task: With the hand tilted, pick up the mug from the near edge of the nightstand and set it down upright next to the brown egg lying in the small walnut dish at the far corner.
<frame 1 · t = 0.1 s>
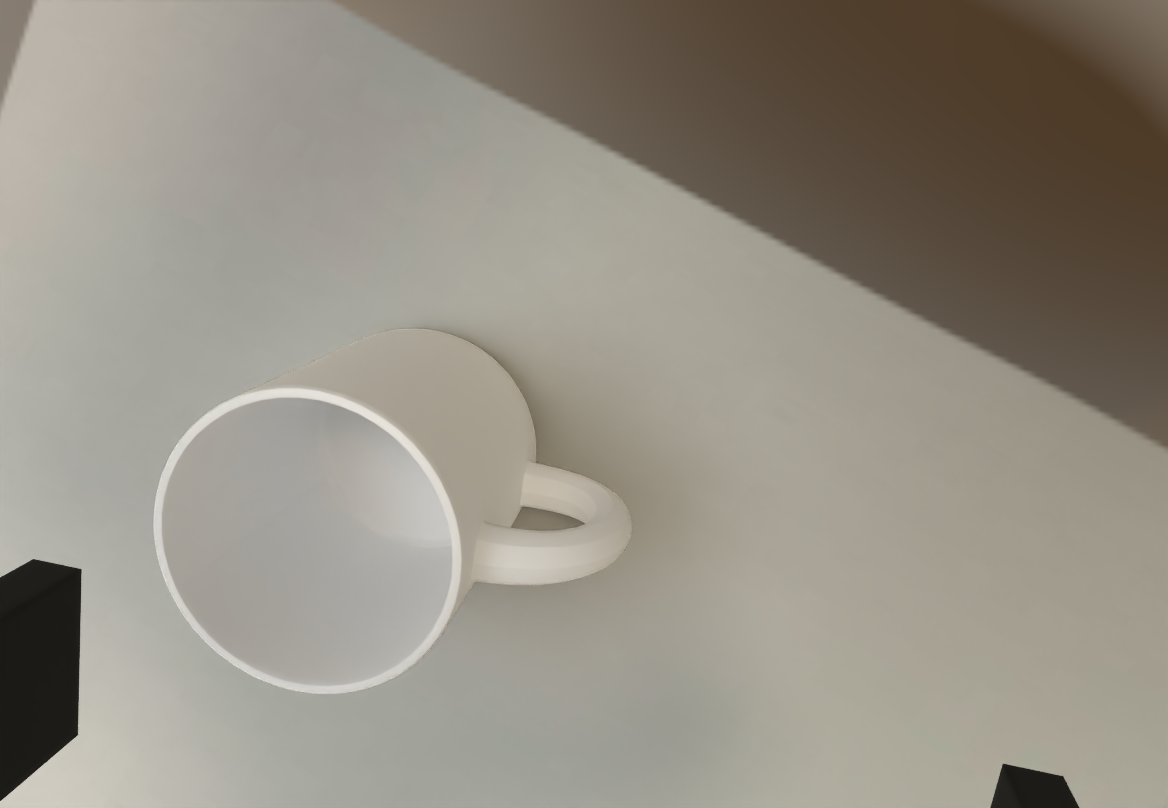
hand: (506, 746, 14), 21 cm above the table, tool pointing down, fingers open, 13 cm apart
mug: (478, 449, 36), on the table
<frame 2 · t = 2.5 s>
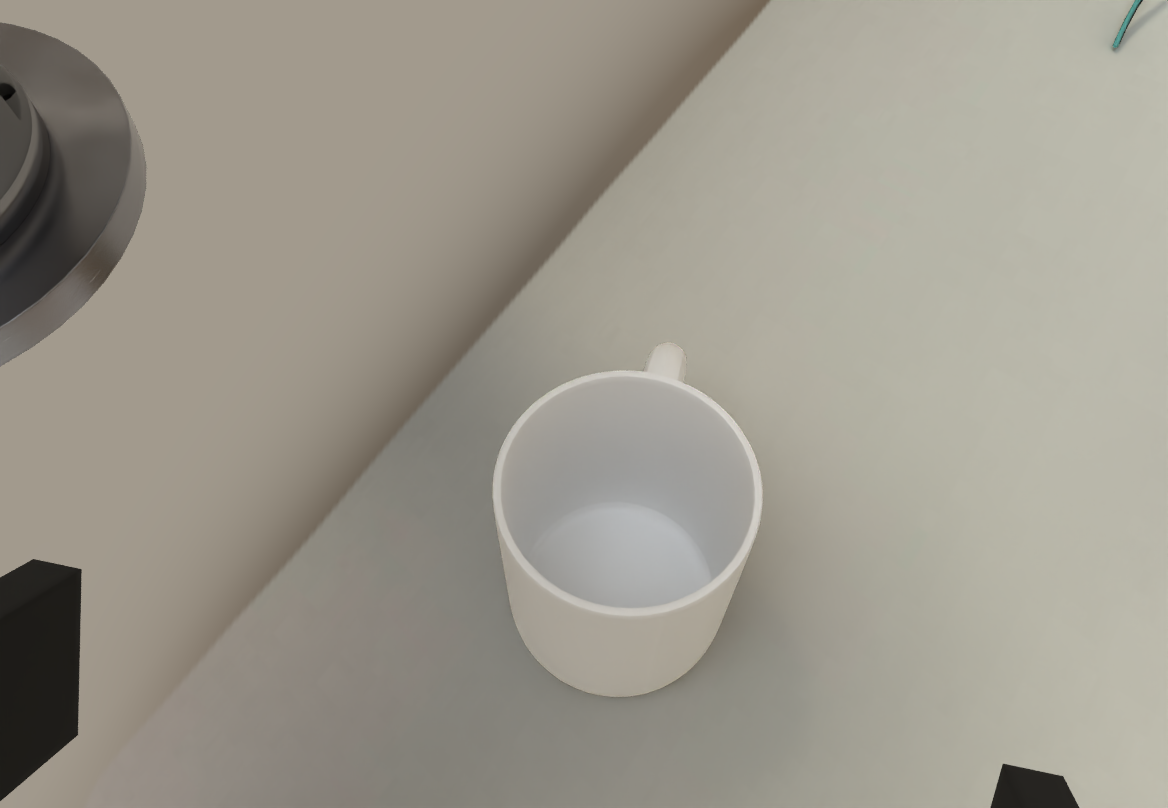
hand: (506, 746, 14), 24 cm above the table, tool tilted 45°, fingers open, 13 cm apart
mug: (627, 554, 41), on the table
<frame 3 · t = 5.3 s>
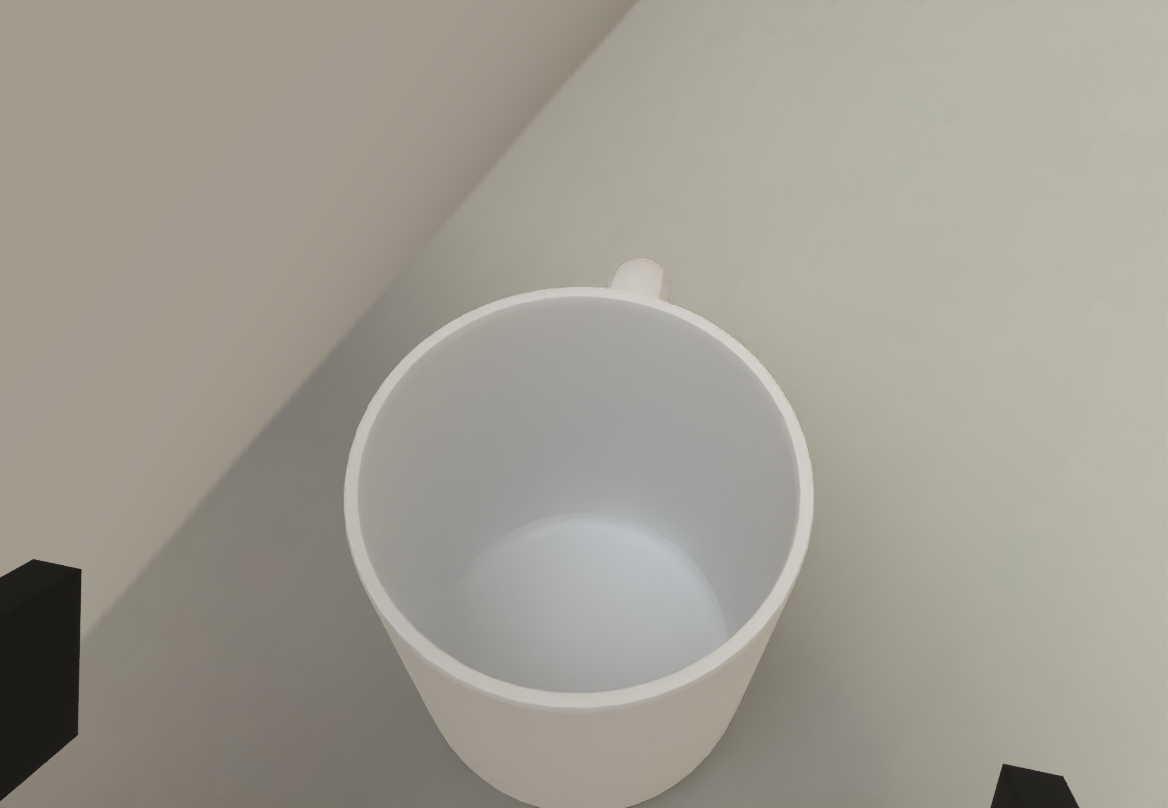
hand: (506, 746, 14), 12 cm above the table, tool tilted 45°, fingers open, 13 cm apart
mug: (598, 589, 28), on the table
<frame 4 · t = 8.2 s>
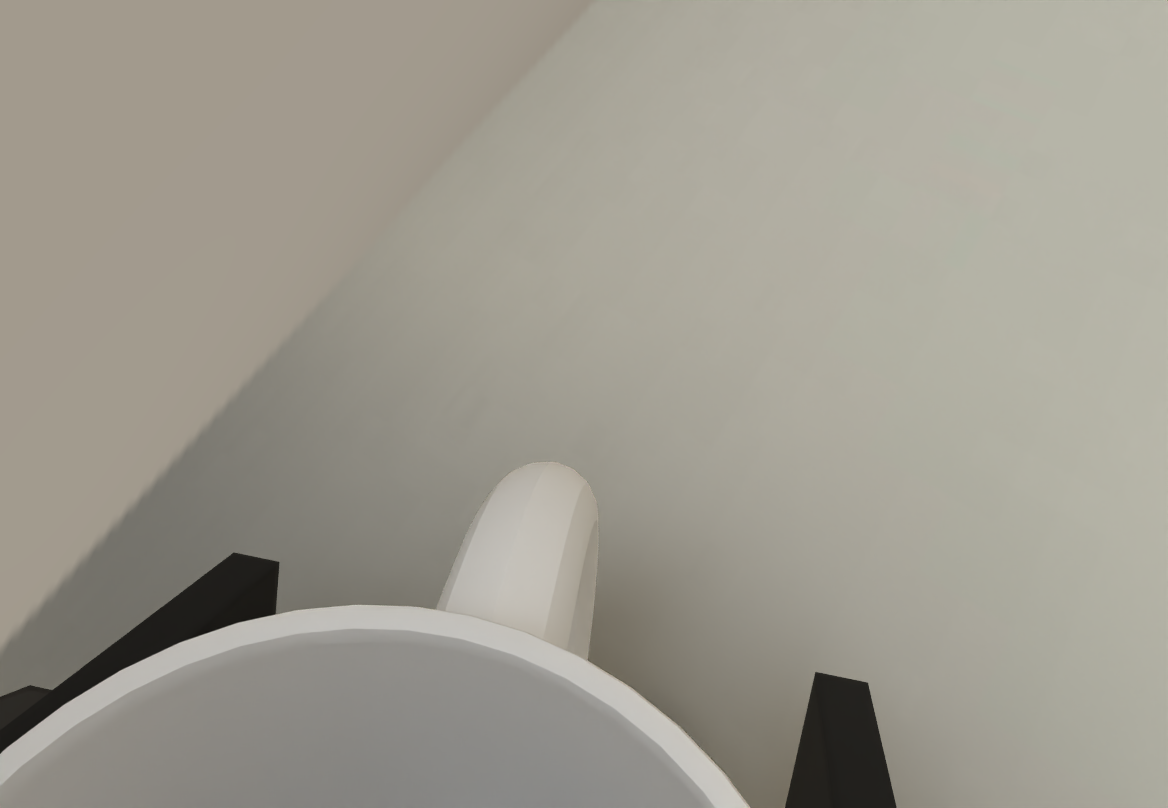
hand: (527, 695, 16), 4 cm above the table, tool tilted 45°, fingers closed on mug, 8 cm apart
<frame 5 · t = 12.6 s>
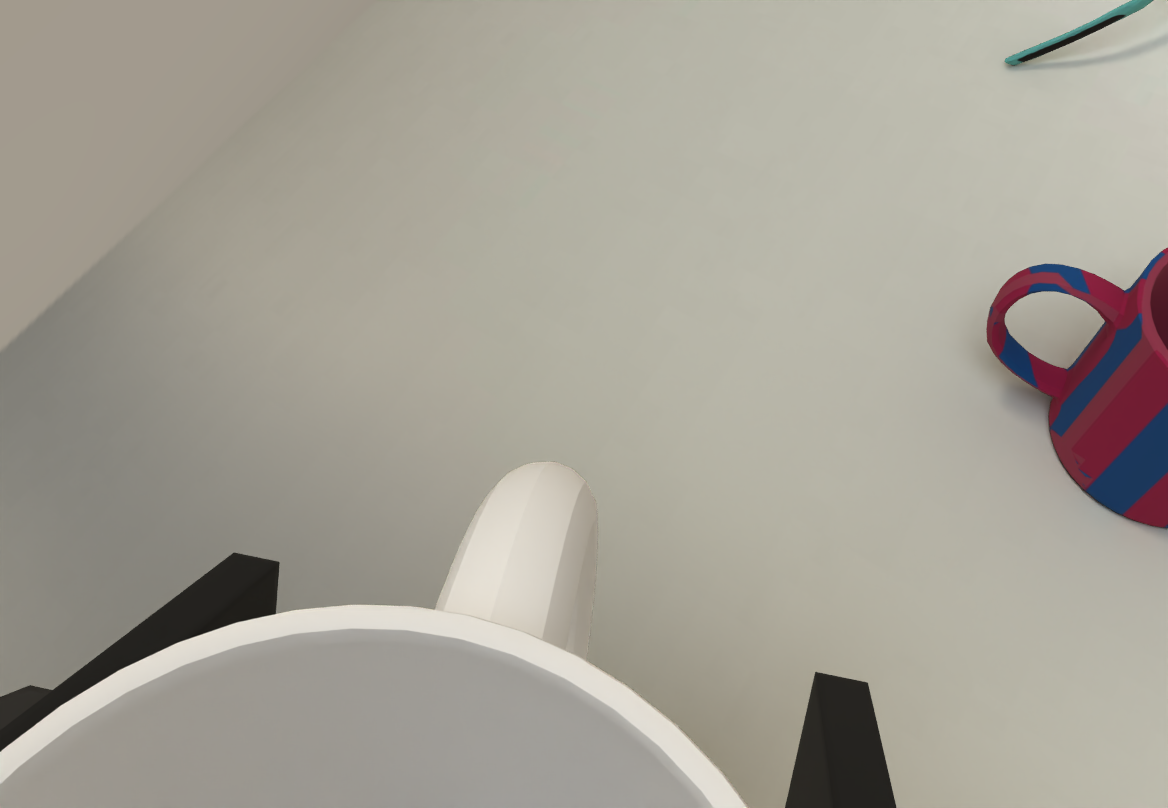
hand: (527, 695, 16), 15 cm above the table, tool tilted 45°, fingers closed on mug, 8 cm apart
cup: (1098, 421, 35), on the table
when the fingers open (4 cm above the table, at t = 16.9 s): mug stays where it is, on the table.
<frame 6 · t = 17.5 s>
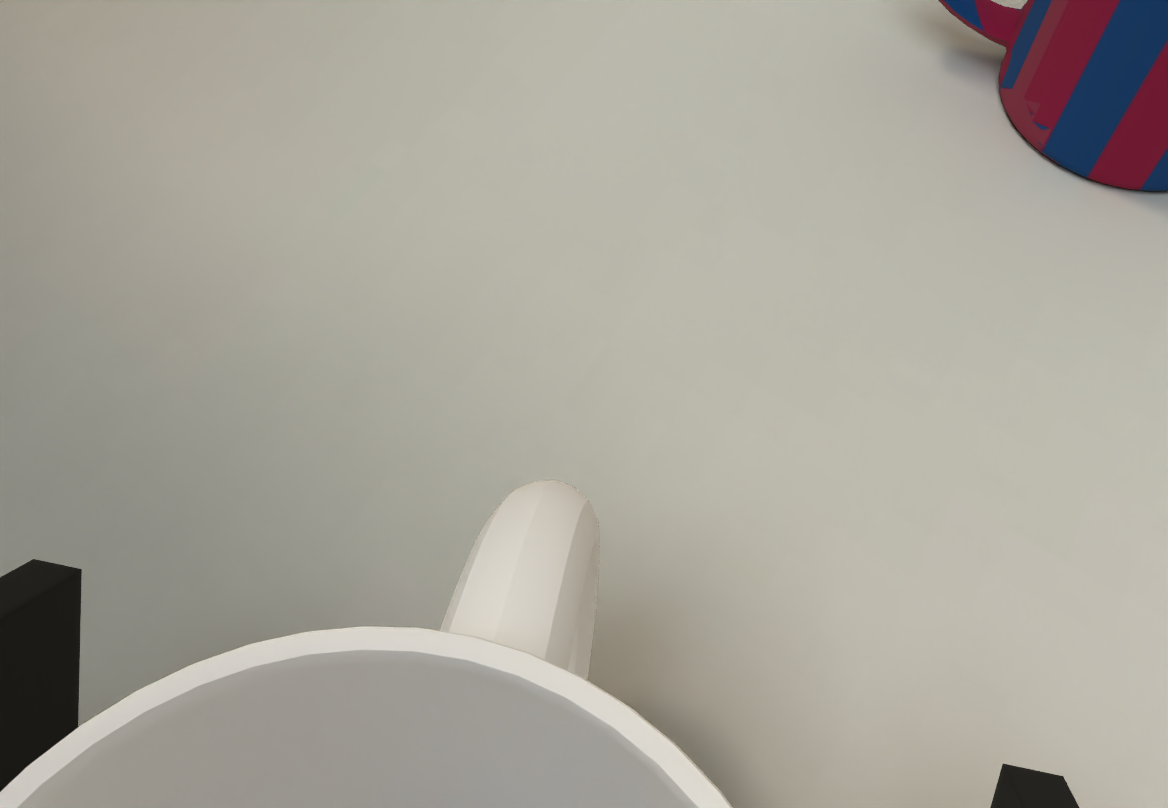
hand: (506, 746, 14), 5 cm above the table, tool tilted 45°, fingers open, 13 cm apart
cup: (1060, 86, 29), on the table
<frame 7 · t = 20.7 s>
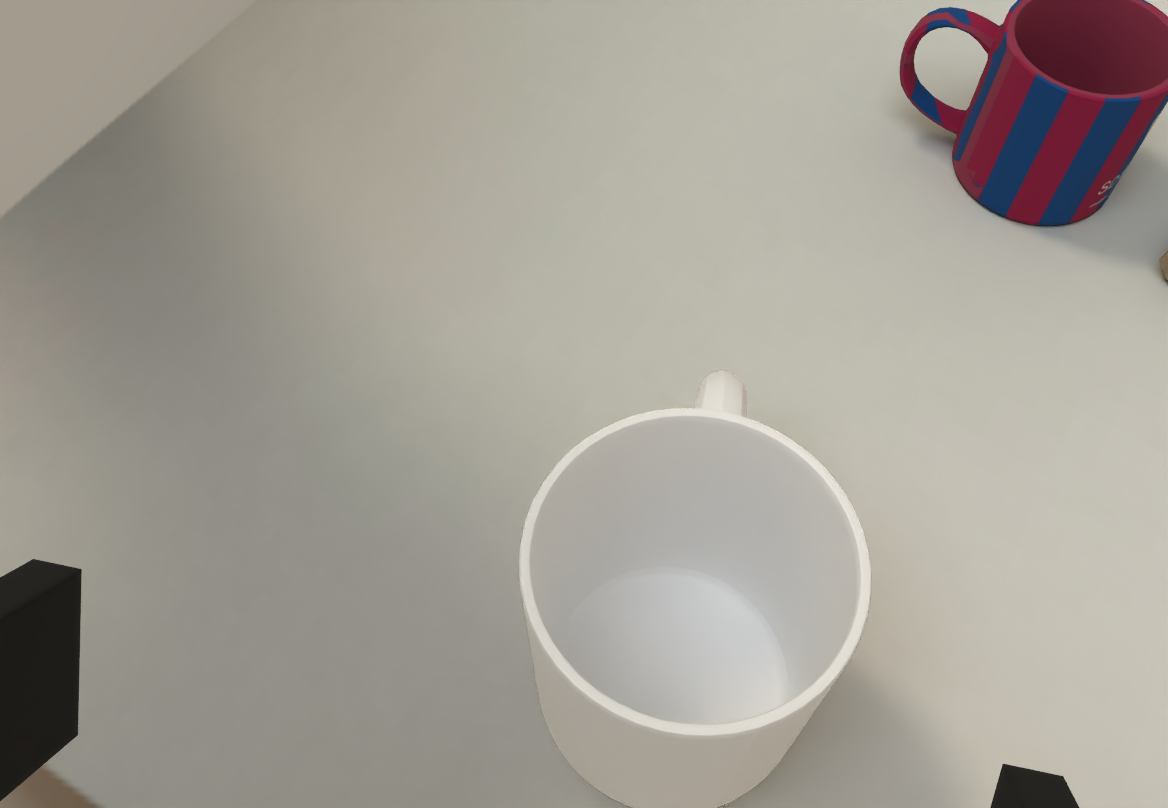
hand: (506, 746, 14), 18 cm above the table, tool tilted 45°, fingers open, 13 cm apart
mug: (678, 630, 34), on the table
cup: (992, 157, 45), on the table
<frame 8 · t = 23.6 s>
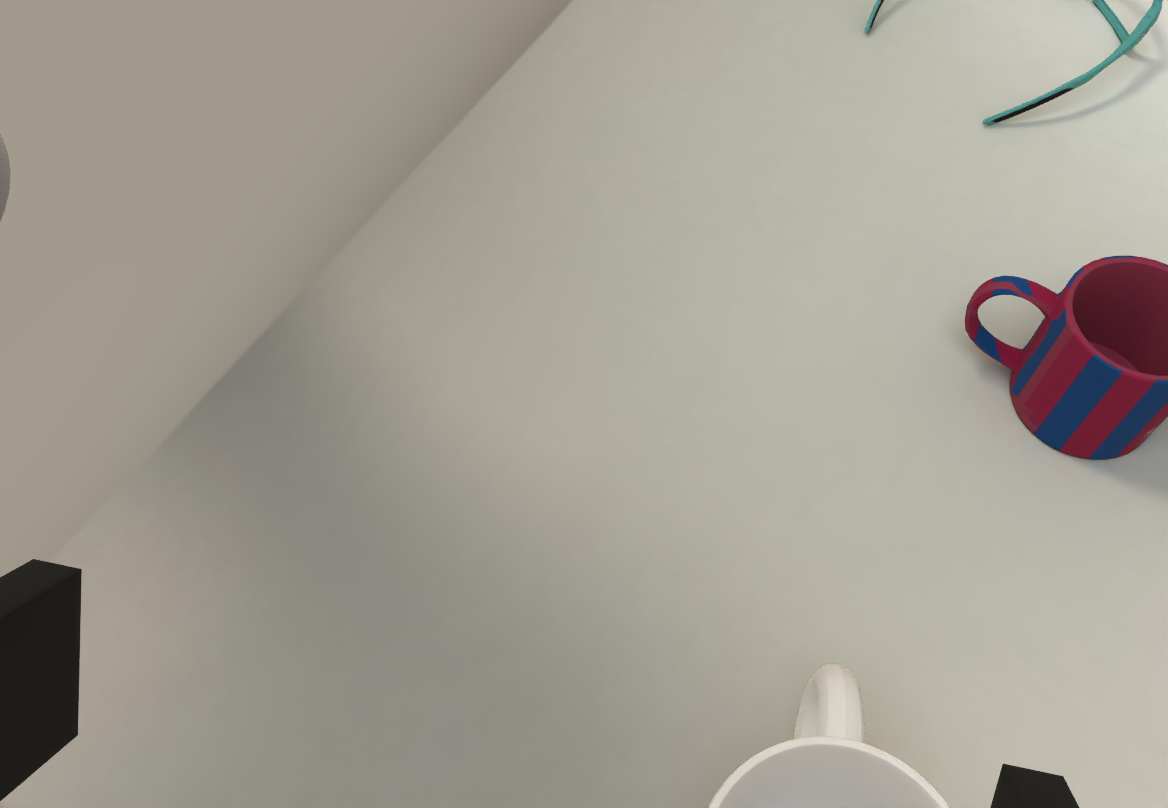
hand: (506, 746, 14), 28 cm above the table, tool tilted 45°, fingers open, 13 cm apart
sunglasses: (1004, 32, 63), on the table
cup: (1044, 386, 50), on the table
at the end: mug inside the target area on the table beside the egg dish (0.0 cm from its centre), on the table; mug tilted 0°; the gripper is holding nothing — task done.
